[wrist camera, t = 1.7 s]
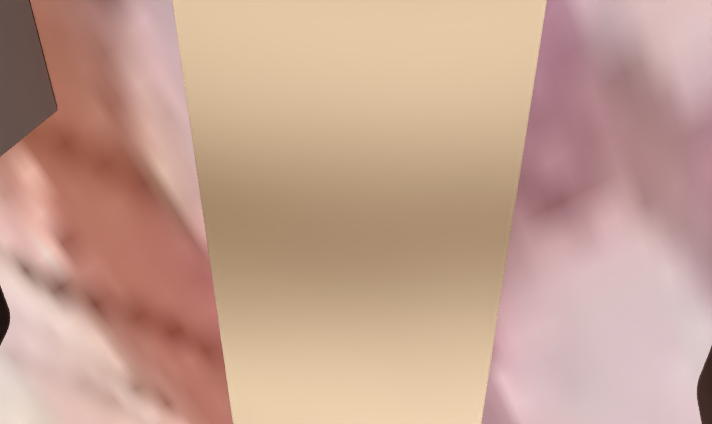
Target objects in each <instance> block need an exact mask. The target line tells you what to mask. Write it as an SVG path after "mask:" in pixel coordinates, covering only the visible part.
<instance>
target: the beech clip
mask: <svg viewBox="0 0 712 424" xmlns="http://www.w3.org/2000/svg"><path fill="white" fill-rule="evenodd" d="M172 1H173V8H174V15H175V22H176V29H177V35H178V42H179V49H180V56H181V63H182V70H183V77H184V84H185V91H186V98H187V105H188V112H189V119H190V126H191V133H192V140H193V147H194V154H195V161H196V168H197V175H198V181H199V188H200V195H201V202H202V209H203V216H204V223H205V230H206V237H207V244H208V251H209V258H210V265H211V272H212V279H213V286H214V293H215V300H216V307H217V314H218V321H219V327H220V334H221V341H222V348H223V355H224V362H225V369H226V376H227V383H228V390H229V397H230V404H231V411H232V418H233V424H481V420H482V414H483V407H484V401H485V394H486V388H487V382H488V375H489V369H490V362H491V356H492V349H493V343H494V337H495V330H496V324H497V317H498V311H499V304H500V298H501V291H502V285H503V279H504V272H505V266H506V259H507V253H508V246H509V240H510V234H511V227H512V221H513V214H514V208H515V201H516V195H517V188H518V182H519V176H520V169H521V163H522V156H523V150H524V143H525V137H526V131H527V124H528V118H529V111H530V105H531V98H532V92H533V85H534V79H535V73H536V66H537V60H538V53H539V47H540V40H541V34H542V28H543V21H544V15H545V8H546V2H547V0H172Z"/></svg>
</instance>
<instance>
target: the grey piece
mask: <svg viewBox="0 0 712 424" xmlns="http://www.w3.org/2000/svg"><path fill="white" fill-rule="evenodd" d="M56 111H57V107H56V103H55V99H54V95H53V91H52V88H51V84H50V80H49V76H48V72H47V68H46V64H45V61H44V57H43V53H42V49H41V45H40V41H39V37H38V33H37V30H36V26H35V22H34V18H33V14H32V10H31V6H30V3H29V0H0V156H2V155H3V154H4V153H5V152H7V151H8V150H9V149H10V148H11V147H13V146H14V145H15V144H16V143H18V142H19V141H20V140H21V139H23V138H24V137H25V136H26V135H28V134H29V133H30V132H31V131H33V130H34V129H35V128H36V127H37V126H39V125H40V124H41V123H42V122H44V121H45V120H46V119H47V118H49V117H50V116H51V115H52V114H54V113H55V112H56Z"/></svg>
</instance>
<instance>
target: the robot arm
mask: <svg viewBox="0 0 712 424" xmlns="http://www.w3.org/2000/svg"><path fill="white" fill-rule="evenodd" d="M9 323H10V312H9V308H8V305H7V302H6V300H5V297H4V294H3V291H2V289H1V286H0V345H1V343H2V341H3V339H4V337H5V335H6V333H7V330H8V327H9ZM697 400H698V406H699V411H700V416H701V422H702V424H712V347H711V349H710V352H709V354H708V357H707V359H706V362H705V364H704V367H703V369H702V372H701V374H700V377H699V380H698V385H697Z"/></svg>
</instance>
